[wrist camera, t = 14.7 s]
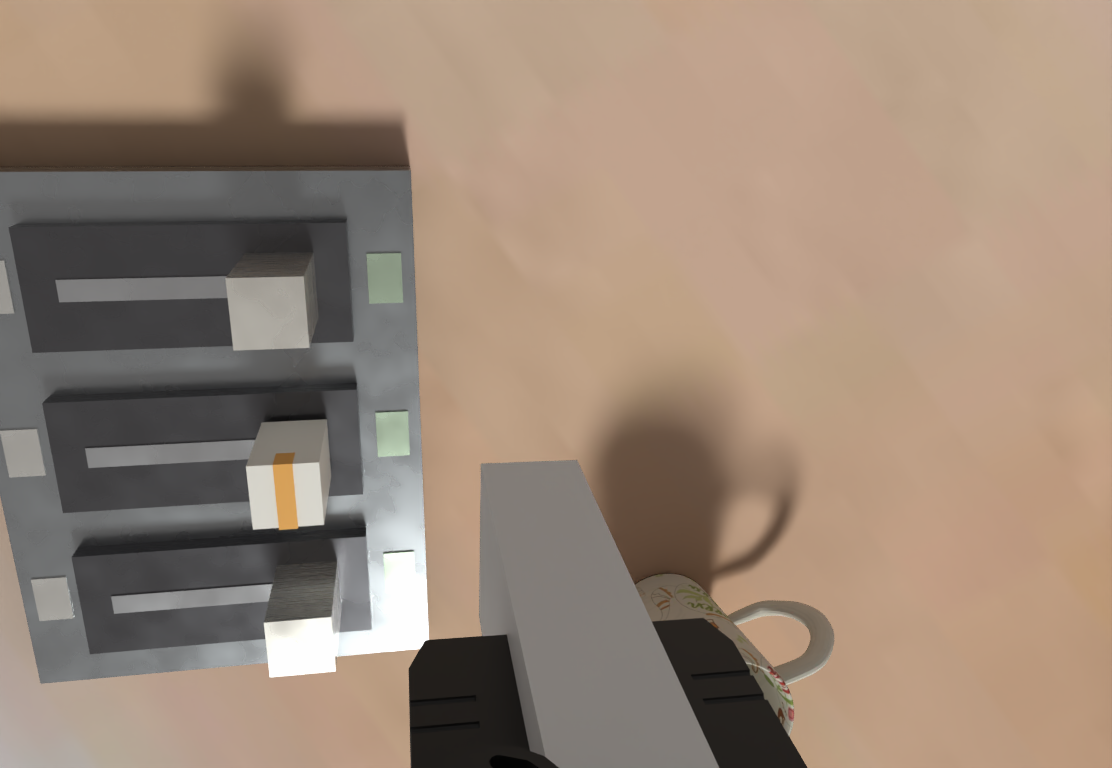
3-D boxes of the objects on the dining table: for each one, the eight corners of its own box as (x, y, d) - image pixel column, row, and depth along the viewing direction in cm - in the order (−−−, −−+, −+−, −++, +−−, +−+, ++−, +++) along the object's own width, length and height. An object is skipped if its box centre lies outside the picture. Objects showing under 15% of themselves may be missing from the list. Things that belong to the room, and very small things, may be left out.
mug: (576, 585, 52) (616, 697, 43) (775, 510, 53) (856, 605, 44) (615, 691, 55) (660, 817, 46) (802, 620, 56) (883, 730, 47)
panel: (-48, 167, 39) (-150, 190, 32) (409, 165, 43) (413, 187, 35) (54, 659, 48) (-8, 767, 41) (427, 626, 51) (434, 721, 44)
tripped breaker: (261, 421, 42) (245, 466, 37) (326, 418, 43) (318, 462, 38) (267, 480, 43) (252, 531, 39) (331, 476, 44) (323, 526, 39)
